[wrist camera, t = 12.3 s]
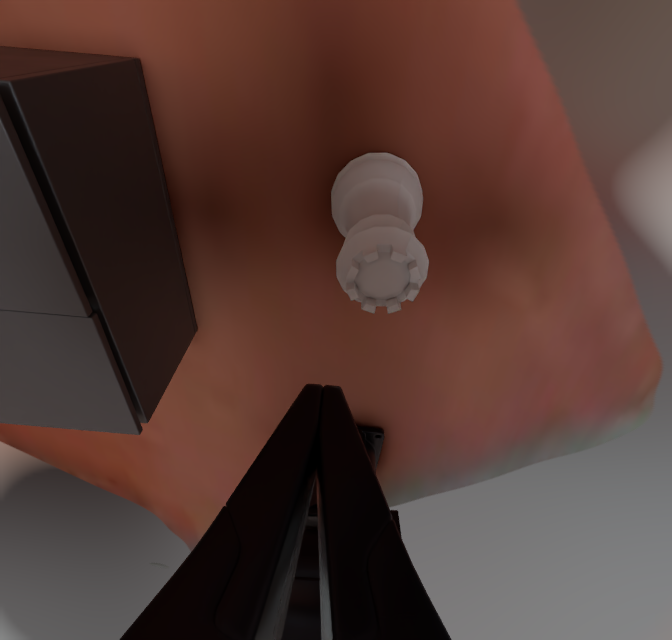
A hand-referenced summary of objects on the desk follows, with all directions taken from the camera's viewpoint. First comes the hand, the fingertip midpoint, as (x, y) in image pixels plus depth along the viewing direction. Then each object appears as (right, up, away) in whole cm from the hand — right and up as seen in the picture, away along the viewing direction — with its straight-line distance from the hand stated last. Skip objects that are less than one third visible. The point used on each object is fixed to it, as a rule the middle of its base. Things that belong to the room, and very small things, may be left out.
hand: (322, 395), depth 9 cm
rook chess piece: (+2, +8, +10) cm, 13 cm away
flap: (-15, 0, +7) cm, 17 cm away
